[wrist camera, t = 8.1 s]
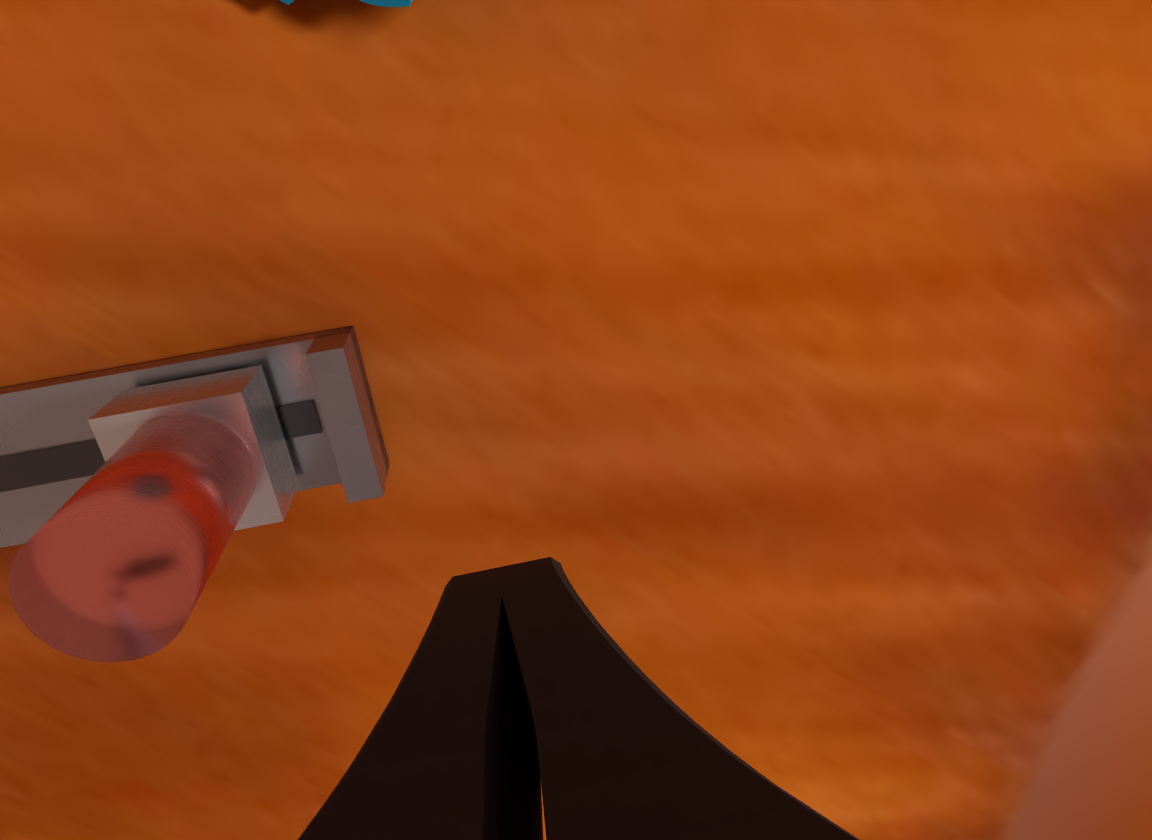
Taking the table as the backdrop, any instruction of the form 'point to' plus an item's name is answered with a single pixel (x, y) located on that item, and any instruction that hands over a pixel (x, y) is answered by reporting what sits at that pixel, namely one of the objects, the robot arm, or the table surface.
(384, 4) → the gear
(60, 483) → the lever rail
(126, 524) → the lever
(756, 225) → the table surface
